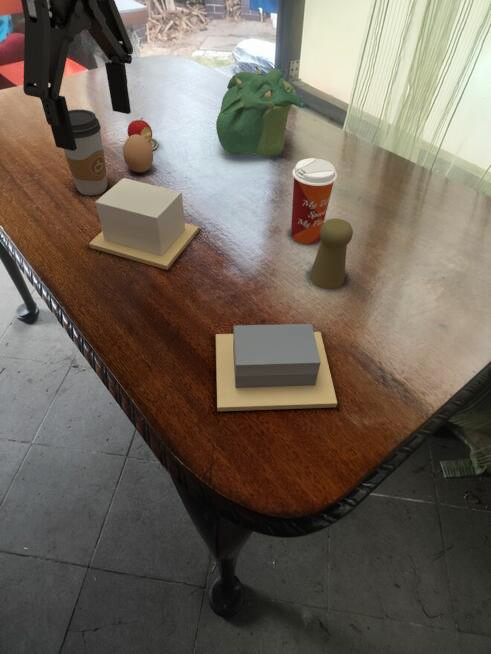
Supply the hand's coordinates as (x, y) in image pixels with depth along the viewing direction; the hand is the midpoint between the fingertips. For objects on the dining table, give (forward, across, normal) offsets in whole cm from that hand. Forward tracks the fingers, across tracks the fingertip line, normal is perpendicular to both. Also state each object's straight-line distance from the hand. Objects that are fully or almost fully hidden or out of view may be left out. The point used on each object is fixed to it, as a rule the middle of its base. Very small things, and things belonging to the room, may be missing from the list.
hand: (96, 128), depth 64 cm
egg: (+23, +29, +13) cm, 40 cm away
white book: (+17, +7, -1) cm, 19 cm away
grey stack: (+23, -14, -33) cm, 43 cm away
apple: (+23, +40, +19) cm, 50 cm away
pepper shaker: (+23, +10, -35) cm, 43 cm away
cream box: (+23, +7, -1) cm, 24 cm away
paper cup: (+23, +20, -28) cm, 42 cm away
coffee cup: (+23, +19, +18) cm, 35 cm away
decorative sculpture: (+23, +50, -8) cm, 56 cm away
